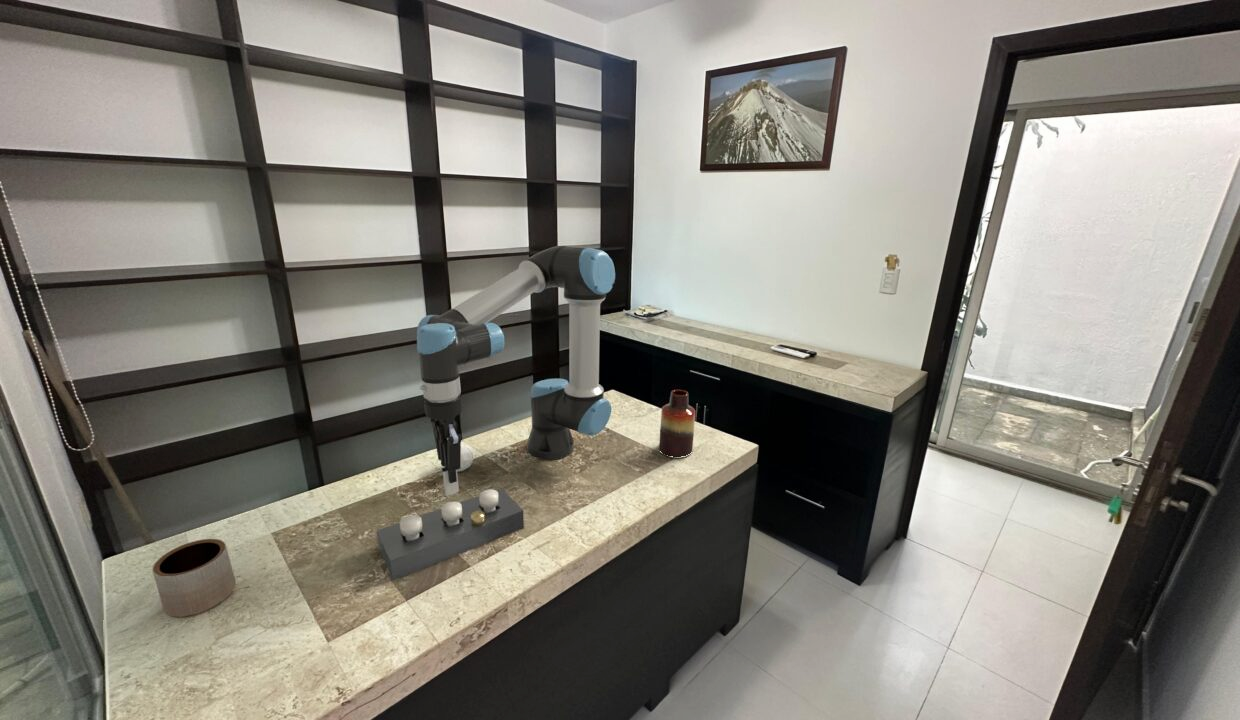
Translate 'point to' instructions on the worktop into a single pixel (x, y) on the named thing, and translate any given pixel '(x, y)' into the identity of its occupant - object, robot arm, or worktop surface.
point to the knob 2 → (489, 500)
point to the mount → (447, 535)
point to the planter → (194, 577)
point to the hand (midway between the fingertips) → (452, 492)
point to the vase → (677, 425)
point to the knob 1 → (411, 527)
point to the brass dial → (477, 518)
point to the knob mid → (451, 513)
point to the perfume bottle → (465, 458)
